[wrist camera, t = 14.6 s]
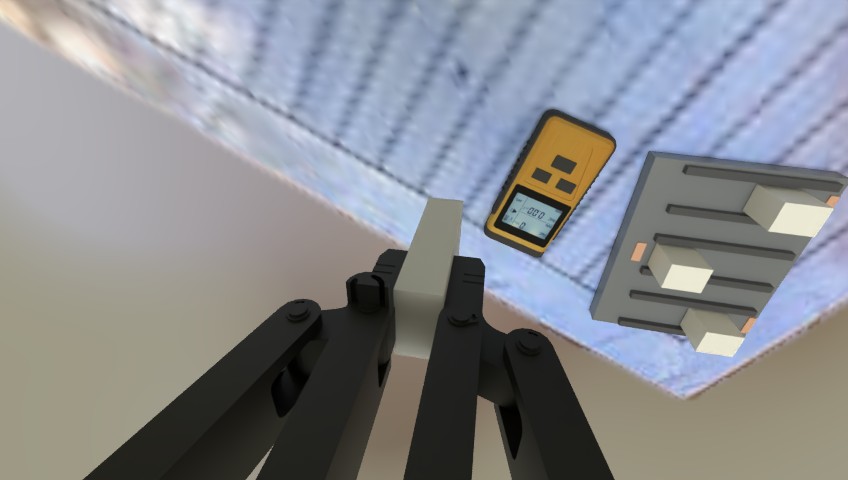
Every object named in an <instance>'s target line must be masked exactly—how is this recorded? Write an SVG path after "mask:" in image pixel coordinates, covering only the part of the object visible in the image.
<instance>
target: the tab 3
mask: <svg viewBox="0 0 848 480" xmlns="http://www.w3.org/2000/svg"><path fill="white" fill-rule="evenodd" d="M833 210H834V208H833V207H831V206H829V205H827V204H826V203H824V202H822V201H820V200H819V199H817V198H815V197H814V196H812V195H810V194H808V193H807V192H805V191H803V190H801V189H796V188H787V187H779V186H770V185H762V184H757V185H756V187H755V189H754V191H753V192H752V194H751V196H750V198H749V200H748V201H747V203H746V205H745V207H744V209H743V212H745V213H746V214H747V215H748V216H750V217H751V218H752V219H753V220H755V221H756V222H757V223H758V224H760V225H761V226H762V227H763V228H765V229H766V230H767V231H769V232H777V233H785V234H793V235H800V236H808V237H815V236H816V234H817V233H818V231H819V230H820V229H821V227H822V226H823V224H824V223H825V221H826V220H827V218H828V217H829V215H830V214H831V212H832V211H833Z"/></svg>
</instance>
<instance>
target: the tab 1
mask: <svg viewBox="0 0 848 480" xmlns="http://www.w3.org/2000/svg"><path fill="white" fill-rule="evenodd" d="M647 265H648V266H649V268H650V270H651V271H652V273H653V275H654V276H655V278H656V280H657V281H658V283H659V285H660V286H661V288H668V289H675V290H682V291H688V292H695V293H701V292H702V290H703V289H704V287H705V285H706V283H707V281H708V280H709V278H710V276H711V274H712V272H713V271H714V270H713V269H712V268H711V266H710V265H709V264H708V263H707V262H706V261H705V259H704V258H703V257H702V256H701V255H700V253H699V252H698V251H697V250H696V249H695V248H691V247H684V246H677V245H669V244H662V243H656V246H655V248H654V250H653V252H652V255H651V257H650V259H649V261H648V264H647Z"/></svg>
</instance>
